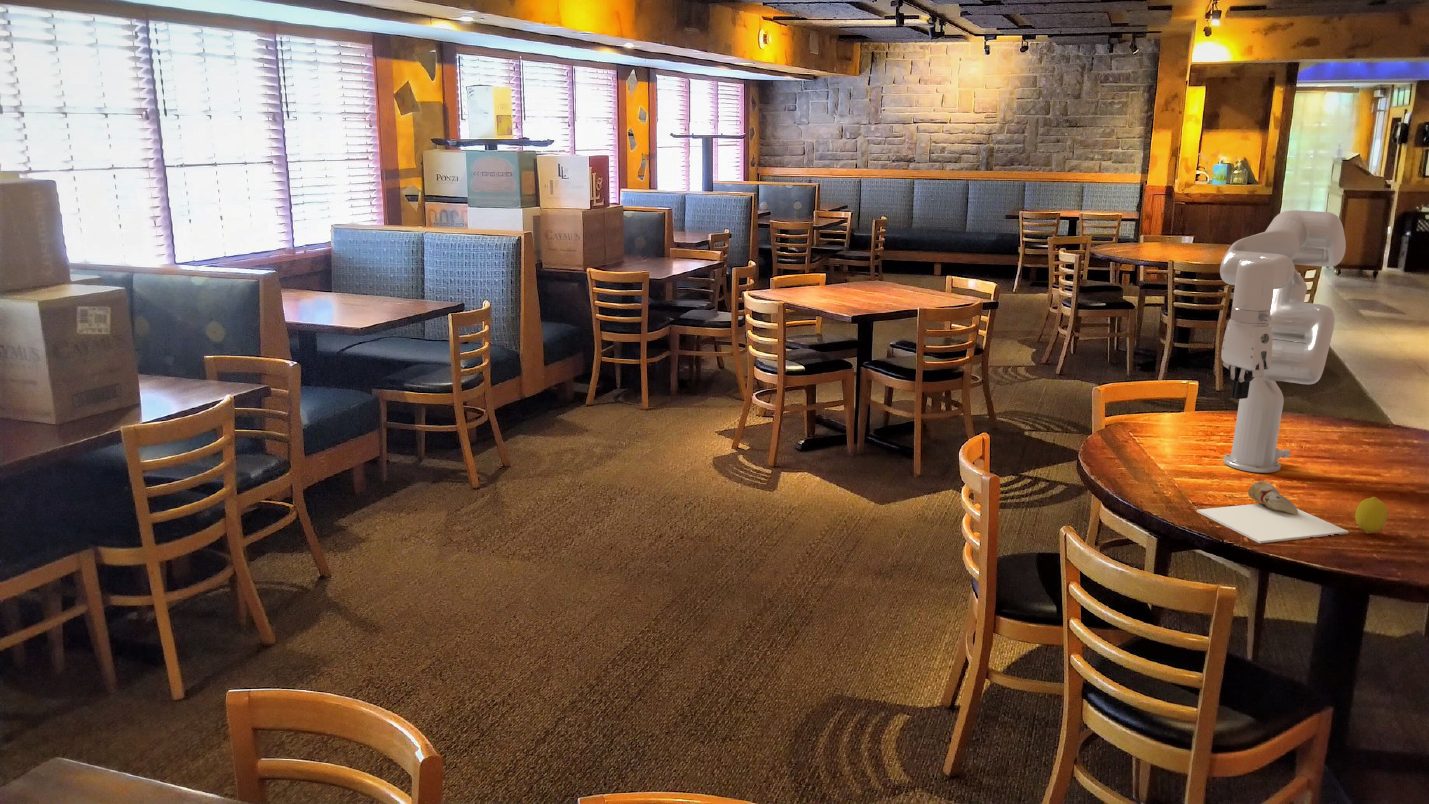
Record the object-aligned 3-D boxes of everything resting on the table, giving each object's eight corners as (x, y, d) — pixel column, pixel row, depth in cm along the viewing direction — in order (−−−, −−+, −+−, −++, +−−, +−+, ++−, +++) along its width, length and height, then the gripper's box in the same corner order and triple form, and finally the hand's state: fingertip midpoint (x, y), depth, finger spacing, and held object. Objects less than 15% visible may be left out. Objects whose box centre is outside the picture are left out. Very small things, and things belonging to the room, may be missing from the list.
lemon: (1346, 528, 214) (1352, 492, 212) (1371, 528, 215) (1377, 492, 213) (1364, 539, 209) (1371, 501, 207) (1390, 538, 210) (1397, 501, 208)
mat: (1280, 503, 229) (1280, 501, 228) (1348, 533, 212) (1348, 531, 212) (1196, 511, 223) (1196, 509, 223) (1259, 543, 206) (1260, 541, 206)
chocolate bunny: (1260, 472, 225) (1302, 493, 217) (1270, 488, 230) (1312, 509, 222) (1244, 491, 225) (1286, 513, 217) (1254, 507, 230) (1295, 529, 222)
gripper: (1292, 321, 216) (1279, 405, 221) (1238, 308, 229) (1228, 387, 235) (1262, 324, 214) (1250, 409, 219) (1210, 310, 228) (1200, 390, 233)
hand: (1239, 397), depth 227 cm, fingers closed
